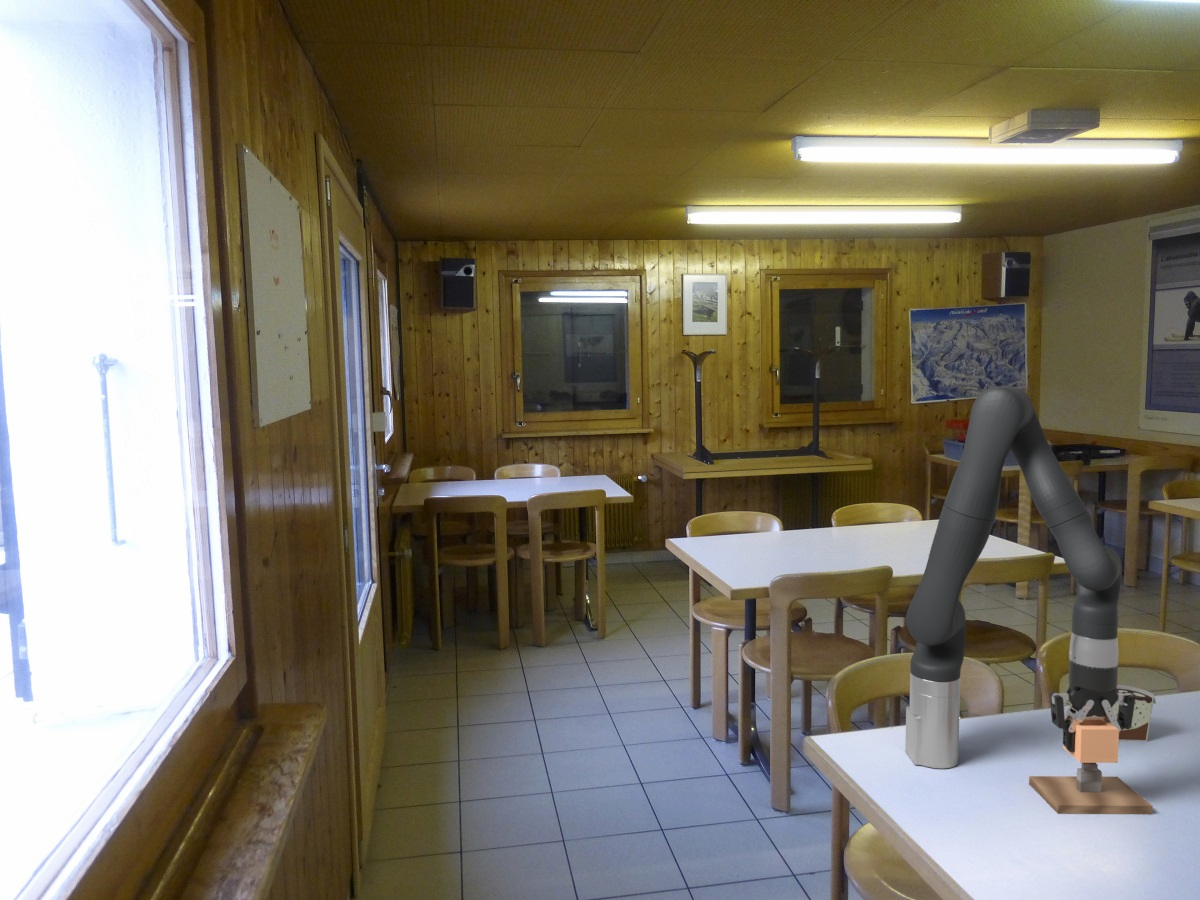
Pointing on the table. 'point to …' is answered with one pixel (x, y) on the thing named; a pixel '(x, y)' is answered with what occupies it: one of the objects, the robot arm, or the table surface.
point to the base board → (1089, 793)
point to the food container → (1137, 714)
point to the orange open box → (1096, 741)
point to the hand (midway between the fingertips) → (1090, 750)
